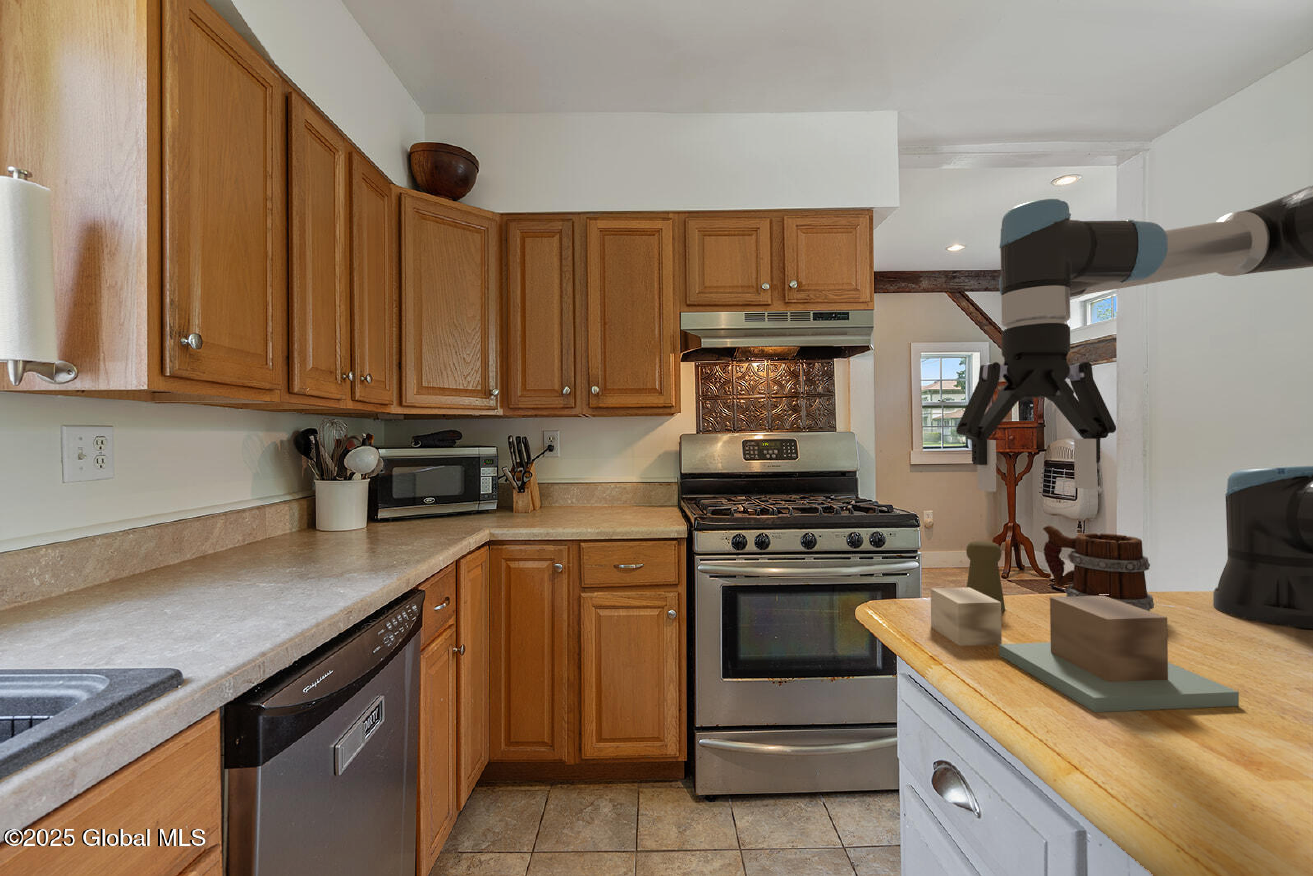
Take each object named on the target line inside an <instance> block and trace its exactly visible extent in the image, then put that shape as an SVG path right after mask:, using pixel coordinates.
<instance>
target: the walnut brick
mask: <svg viewBox="0 0 1313 876" xmlns="http://www.w3.org/2000/svg"><path fill="white" fill-rule="evenodd" d="M1049 619H1050V620H1049V621H1050V624H1049V625H1050V629H1049V631H1050V633H1049V634H1050V642H1051V653H1053V654H1055V655H1057V656H1059V657H1061V658H1063V659H1064V660H1066V661H1068V662H1070V663H1072V664H1074V665H1076V666H1078V667H1080V668H1082V669H1084V670H1086V671H1088V672H1090V673H1091V674H1093V675H1095V676H1097V677H1099V678H1101V679H1103V680H1105V681H1107V682H1120V681H1147V680H1168V662H1169V660H1168V659H1169V656H1168V653H1169V652H1168V650H1169V648H1168V641H1169V639H1168V616H1164V615H1162V614H1158V613H1157V612H1153V611H1151V610H1150V611H1147V610H1144V609H1141V608H1138V607H1135V606H1132V605H1129V604H1127V603H1124V602H1121V601H1118V600H1115V599H1112V598H1109V597H1106V596H1075V597H1067V596H1050V597H1049Z"/></svg>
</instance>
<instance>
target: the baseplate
mask: <svg viewBox="0 0 1313 876" xmlns="http://www.w3.org/2000/svg"><path fill="white" fill-rule="evenodd" d="M999 655H1000V656H999ZM998 656H999V657H1001V658H1003V659H1004V660H1006V659H1007V660H1006V661H1008V662H1009V661H1010V663H1011V664H1012V665H1014V664H1015V666H1016V665H1017V666H1016V667H1018V668H1020V669H1021V670H1023V671H1025V672H1026V673H1028V674H1029V673H1030V675H1031V676H1032V677H1035V678H1036V679H1038V680H1040V681H1041V682H1043V683H1044V684H1046V685H1048V686H1050V687H1051V688H1053V689H1055V690H1056V691H1058V692H1060V693H1062V694H1063V695H1065V696H1066V697H1068V698H1070V699H1072V700H1074V701H1075V702H1076V703H1078V704H1080V705H1081V706H1083V707H1085V708H1087V709H1089V710H1090V711H1092V712H1094V713H1101V712H1102V713H1104V712H1124V711H1126V712H1127V711H1128V712H1129V711H1146V710H1147V711H1149V710H1150V711H1153V710H1171V709H1172V710H1173V709H1175V710H1176V709H1195V708H1196V709H1197V708H1198V709H1199V708H1200V709H1201V708H1220V707H1221V708H1222V707H1223V708H1224V707H1240V693H1239V691H1238V690H1235V689H1233V688H1231V687H1228V686H1225V685H1223V684H1221V683H1219V682H1217V681H1215V680H1212V679H1209V678H1206V677H1204V676H1201V675H1200V674H1198V673H1195V672H1192V671H1190V670H1187V669H1185V668H1183V667H1181V666H1178V665H1175V664H1173V663H1171V662H1169V661H1168V680H1147V681H1120V682H1107V681H1105V680H1103V679H1101V678H1099V677H1097V676H1095V675H1093V674H1091V673H1090V672H1088V671H1086V670H1084V669H1082V668H1080V667H1078V666H1076V665H1074V664H1072V663H1070V662H1068V661H1066V660H1064V659H1063V658H1061V657H1059V656H1057V655H1055V654H1053V653H1051V641H1049V642H1027V643H1026V642H1024V643H1023V642H1022V643H1002V644H999V645H998Z"/></svg>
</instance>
